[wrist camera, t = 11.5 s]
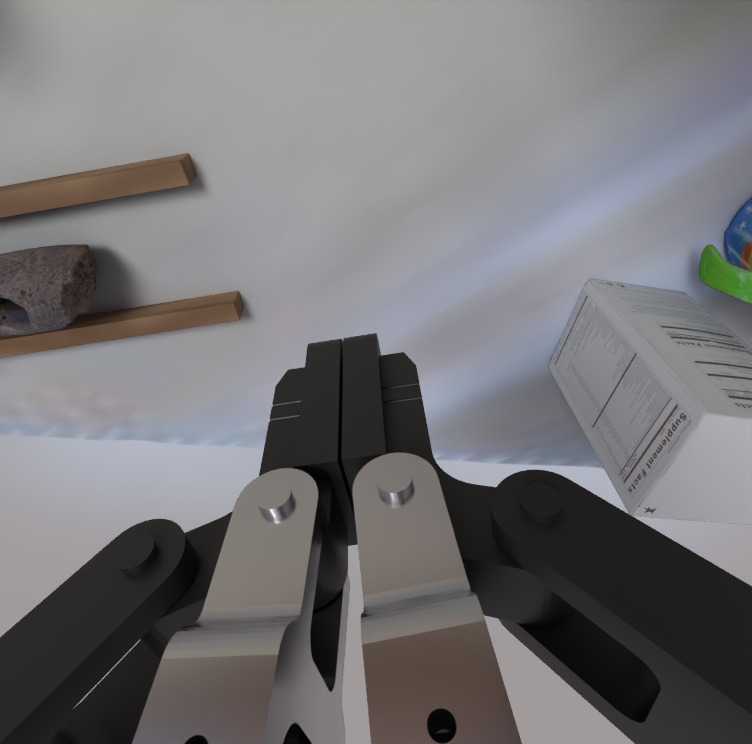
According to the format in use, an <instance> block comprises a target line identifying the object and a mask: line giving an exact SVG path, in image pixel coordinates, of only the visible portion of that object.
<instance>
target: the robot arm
mask: <svg viewBox="0 0 752 744" xmlns="http://www.w3.org/2000/svg"><path fill="white" fill-rule="evenodd" d="M357 544H358V551H359V560H360V571H361V580H362V590H363V601H364V612H363V613H362V614H361V637H362V649H363V659H364V670H365V681H366V692H367V703H368V714H369V725H370V735H371V744H522V743H521V739H520V736H519V732H518V729H517V726H516V722H515V719H514V716H513V713H512V709H511V706H510V702H509V699H508V696H507V692H506V689H505V685H504V682H503V679H502V676H501V672H500V669H499V665H498V662H497V658H496V655H495V652H494V648H493V645H492V642H491V638H490V635H489V632H488V629H487V625H486V621H485V618H484V615H485V616H490V617H494V618H498V619H499V620H500V622H501V623H502V625H503V626H504V627H505V628H506V629H507V630H508V631H509V632H510V633H511V634H513V635H514V636H515V637H516V638H517V639H518V640H519V641H520V642H522V643H523V644H524V645H525V646H526V647H527V648H528V649H529V650H531V651H532V652H533V653H534V654H535V655H536V656H537V657H538V658H540V659H541V660H542V661H543V662H544V663H545V664H546V665H547V666H549V667H550V668H551V669H552V670H553V671H554V672H555V673H556V674H557V675H559V676H560V677H561V678H562V679H563V680H564V681H565V682H567V683H568V684H569V685H570V686H571V687H572V688H573V689H574V690H576V691H577V692H578V693H579V694H580V695H581V696H582V697H583V698H584V699H586V700H587V701H588V702H589V703H590V704H591V705H592V706H593V707H595V708H596V709H597V710H598V711H599V712H600V713H601V714H602V715H604V716H605V717H606V718H607V719H608V720H609V721H610V722H611V723H612V724H614V725H615V726H616V727H617V728H618V729H619V730H620V731H621V732H623V733H624V734H625V735H626V736H627V737H628V738H629V739H631V741H633V742H634V743H635V744H752V586H750V585H748V584H747V583H745V582H743V581H741V580H740V579H738V578H736V577H735V576H733V575H731V574H730V573H728V572H726V571H725V570H723V569H721V568H719V567H718V566H716V565H714V564H713V563H711V562H709V561H707V560H706V559H704V558H702V557H700V556H699V555H697V554H695V553H694V552H692V551H690V550H689V549H687V548H685V547H684V546H682V545H680V544H678V543H677V542H675V541H673V540H672V539H670V538H668V537H666V536H665V535H663V534H661V533H660V532H658V531H656V530H655V529H653V528H651V527H649V526H648V525H646V524H644V523H643V522H641V521H639V520H637V519H636V518H634V517H632V516H631V515H629V514H627V513H625V512H624V511H622V510H620V509H619V508H617V507H615V506H613V505H612V504H610V503H608V502H607V501H605V500H603V499H602V498H600V497H598V496H597V495H595V494H593V493H591V492H590V491H588V490H586V489H585V488H583V487H581V486H579V485H578V484H576V483H574V482H573V481H571V480H569V479H567V478H565V477H563V476H561V475H559V474H556V473H553V472H549V471H544V470H526V471H520V472H518V473H514V474H512V475H510V476H508V477H507V478H505V479H504V480H503V481H502V482H501V483H500V484H499V485H498V486H497V487H496V488H495V487H488V486H481V485H475V484H470V483H465V482H462V481H459V480H457V479H455V478H453V477H451V476H450V475H448V474H447V473H445V472H444V471H443V470H442V469H441V468H440V467H439V466H438V464H437V463H436V461H435V459H434V457H433V454H432V450H431V444H430V439H429V434H428V428H427V423H426V417H425V412H424V406H423V401H422V396H421V390H420V385H419V379H418V374H417V368H416V365H415V364H414V363H413V362H412V361H411V360H410V359H409V358H408V356H407V355H406V354H405V353H404V352H402V353H396V354H389V355H382V356H381V353H380V348H379V342H378V337H377V333H375V334H368V335H362V336H355V337H349V338H344V340H343V341H342V339H337V340H330V341H323V342H317V343H310V344H308V347H307V356H306V364H305V367H304V368H297V369H290V370H288V371H287V372H286V373H285V375H284V376H283V377H282V379H281V380H280V381H279V383H278V384H277V385H276V388H275V393H274V399H273V407H272V409H271V415H270V422H269V426H268V431H267V436H266V442H265V447H264V453H263V458H262V463H261V469H260V474H259V477H257V478H256V479H254V480H253V481H252V482H250V483H249V484H248V485H247V486H246V487H245V488H244V490H243V491H242V492H241V493H240V495H239V497H238V499H237V501H236V503H235V506H234V510H233V511H232V512H231V513H229V514H227V515H226V516H224V517H222V518H219V519H217V520H215V521H213V522H210V523H208V524H206V525H203V526H201V527H198V528H196V529H194V530H191V531H189V532H186V533H184V532H183V530H182V529H181V527H180V526H179V525H178V524H177V523H175V522H173V521H170V520H166V519H152V520H148V521H144V522H142V523H139V524H136V525H134V526H132V527H130V528H129V529H127V530H126V531H124V532H122V533H121V534H120V535H119V536H118V537H116V538H115V539H114V540H113V541H111V542H110V543H109V544H108V545H107V546H106V547H104V548H103V549H102V550H101V551H100V552H99V553H97V554H96V555H95V556H94V557H93V558H92V559H91V560H89V561H88V562H87V563H86V564H85V565H84V566H82V567H81V568H80V569H79V570H78V571H77V572H75V573H74V574H73V575H72V576H71V577H70V578H69V579H67V580H66V581H65V582H64V583H63V584H62V585H60V586H59V587H58V588H57V589H56V590H55V591H54V592H52V593H51V594H50V595H49V596H48V597H47V598H46V599H44V600H43V601H42V602H41V603H40V604H39V605H37V606H36V607H35V608H34V609H33V610H32V611H31V612H29V613H28V614H27V615H26V616H25V617H23V618H22V619H21V620H20V621H19V622H18V623H16V624H15V625H14V626H13V627H12V628H11V629H10V630H9V631H7V632H6V633H5V634H4V635H3V636H2V637H1V638H0V744H345V725H344V717H343V709H342V684H343V671H344V657H345V644H346V631H347V617H348V603H349V590H350V582H349V577H348V574H347V572H348V546H349V545H357ZM140 639H141V640H140ZM138 640H140V641H139V643H138V644H137V645H136V646H135V647H134V648H133V649H132V650H131V651H130V652H129V653H128V654H127V655H126V656H125V657H124V658H123V659H122V660H121V661H120V662H119V663H118V664H117V665H116V666H115V667H114V668H113V669H112V671H111V672H110V673H109V674H108V675H107V676H106V677H105V678H104V679H103V680H102V681H101V682H100V683H99V684H98V685H97V686H96V687H95V688H94V689H93V690H92V691H91V692H90V693H89V694H88V696H87V697H86V698H85V699H84V700H83V701H82V702H81V703H80V704H79V705H77V704H78V703H79V702H80V701H81V700H82V698H84V696H85V695H86V694H87V693H88V692H89V691H90V690H91V689H92V688H93V687H94V686H95V685H96V684H97V683H98V682H99V681H100V680H101V679H102V678H103V677H104V676H105V675H106V674H107V673H108V672H109V671H110V670H111V668H112V667H113V666H114V665H115V664H116V663H117V662H118V661H119V660H120V659H121V658H122V657H123V656H124V655H125V654H126V653H127V652H128V651H129V650H130V649H131V648H132V647H133V646H134V645H135V644H136V642H138ZM76 705H77V706H76ZM75 706H76V707H75ZM74 707H75V708H74ZM73 708H74V709H73Z"/></svg>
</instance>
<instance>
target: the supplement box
mask: <svg viewBox="0 0 752 744" xmlns="http://www.w3.org/2000/svg"><path fill="white" fill-rule="evenodd" d="M548 368H549V370H550V372H551V374H552V375H553V377H554V379H555V381H556V383H557V385H558V386H559V388H560V390H561V392H562V394H563V395H564V397H565V399H566V401H567V402H568V404H569V406H570V408H571V410H572V412H573V413H574V415H575V417H576V419H577V420H578V422H579V424H580V426H581V428H582V430H583V431H584V433H585V435H586V437H587V438H588V440H589V442H590V444H591V446H592V448H593V449H594V451H595V453H596V455H597V457H598V458H599V460H600V462H601V464H602V466H603V468H604V469H605V471H606V473H607V475H608V477H609V478H610V480H611V482H612V484H613V485H614V487H615V489H616V491H617V493H618V495H619V496H620V498H621V499H622V501H623V503H624V505H625V507H626V509H627V511H628V512H629V514H630V515H631V516H640V517H651V518H663V519H664V518H665V519H679V520H691V521H704V522H717V523H729V524H751V523H752V349H751V348H750V347H749V346H748V345H747V344H745V343H744V342H743V341H742V340H741V339H739V338H738V337H737V336H736V335H735V334H734V333H732V332H731V331H730V330H729V329H728V328H726V327H725V326H724V325H723V324H722V323H720V322H719V321H718V320H717V319H716V318H714V317H713V316H712V315H711V314H710V313H709V312H707V311H706V310H705V309H704V308H703V307H702V306H700V305H699V304H698V303H697V302H696V301H695V300H693V299H692V298H691V297H690V296H689V295H687V294H686V293H684V292H679V291H672V290H665V289H658V288H651V287H644V286H637V285H631V284H624V283H617V282H610V281H603V280H596V279H589V280H587V282H586V284H585V287H584V289H583V291H582V293H581V295H580V298H579V300H578V302H577V304H576V306H575V309H574V311H573V313H572V315H571V317H570V319H569V322H568V324H567V326H566V328H565V330H564V333H563V335H562V337H561V339H560V341H559V344H558V346H557V348H556V350H555V352H554V355H553V357H552V359H551V361H550V363H549V365H548Z"/></svg>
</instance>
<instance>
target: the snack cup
mask: <svg viewBox="0 0 752 744" xmlns="http://www.w3.org/2000/svg"><path fill="white" fill-rule="evenodd" d="M725 242H726V250H727V255H728V258H729V260H730V262H731V263H732V264H733V265H731V264H730V263H728V262H726V261H725V260H724V259H723V258H722V256H721V255H720V253H719V252H718V250H717V249H716V248H715V247H714V246H713V245H707V246H706V247H705V248H704V250H703V252H702V254H701V259H700V263H699V277H700V279H701V281H702V282H703V283H704V284H705V285H707V286H709V287H712V288H714V289H716V290H719V291H721V292H724V293H726V294H729V295H731V296H733V297H736V298H738V299H740V300H742V301H745V302H747V303H750V304H752V199H750V200H749V201H748V202H747V203H746V204H745V205H744V206H743V208H742V209H741V210H740V211H739V213H738V214H737V216H736V217H735V219H734V220H733V222H732V224H731V225H730V227H729V228H728V230H726V232H725Z"/></svg>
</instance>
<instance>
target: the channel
mask: <svg viewBox="0 0 752 744" xmlns="http://www.w3.org/2000/svg"><path fill="white" fill-rule="evenodd" d="M195 177H196V174H195V171H194V169H193V166H192V163H191V160H190V158H189V155H188V153H187V154H182V155H176V156H170V157H165V158H159V159H154V160H148V161H142V162H137V163H131V164H126V165H120V166H114V167H109V168H103V169H97V170H92V171H86V172H81V173H75V174H69V175H64V176H58V177H53V178H47V179H41V180H36V181H30V182H24V183H19V184H13V185H8V186H2V187H0V218H2V217H8V216H13V215H19V214H25V213H31V212H36V211H42V210H48V209H54V208H59V207H65V206H71V205H76V204H82V203H88V202H94V201H99V200H105V199H111V198H117V197H122V196H128V195H134V194H140V193H145V192H151V191H157V190H162V189H168V188H174V187H180V186H185V185H189V184H190V183H191V182H192V181H193V179H194V178H195ZM243 308H244V306H243V304H242V301H241V298H240V295H239V293H238V291H235V292H229V293H223V294H216V295H210V296H204V297H198V298H192V299H185V300H179V301H173V302H167V303H160V304H154V305H148V306H142V307H136V308H129V309H123V310H117V311H111V312H105V313H98V314H92V315H86V316H80V317H76V318H75V320H74V321H73V322H72V323H69V324H67V325H66V326H65V327H64V328H61V329H57V330H50V331H45V332H38V333H33V334H25V335H8V336H0V358H1V357H7V356H13V355H20V354H26V353H32V352H39V351H45V350H51V349H58V348H64V347H70V346H77V345H83V344H89V343H96V342H102V341H108V340H115V339H121V338H127V337H134V336H140V335H147V334H153V333H159V332H166V331H172V330H178V329H185V328H191V327H197V326H204V325H210V324H216V323H223V322H229V321H235V320H240V317H241V314H242V311H243Z"/></svg>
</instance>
